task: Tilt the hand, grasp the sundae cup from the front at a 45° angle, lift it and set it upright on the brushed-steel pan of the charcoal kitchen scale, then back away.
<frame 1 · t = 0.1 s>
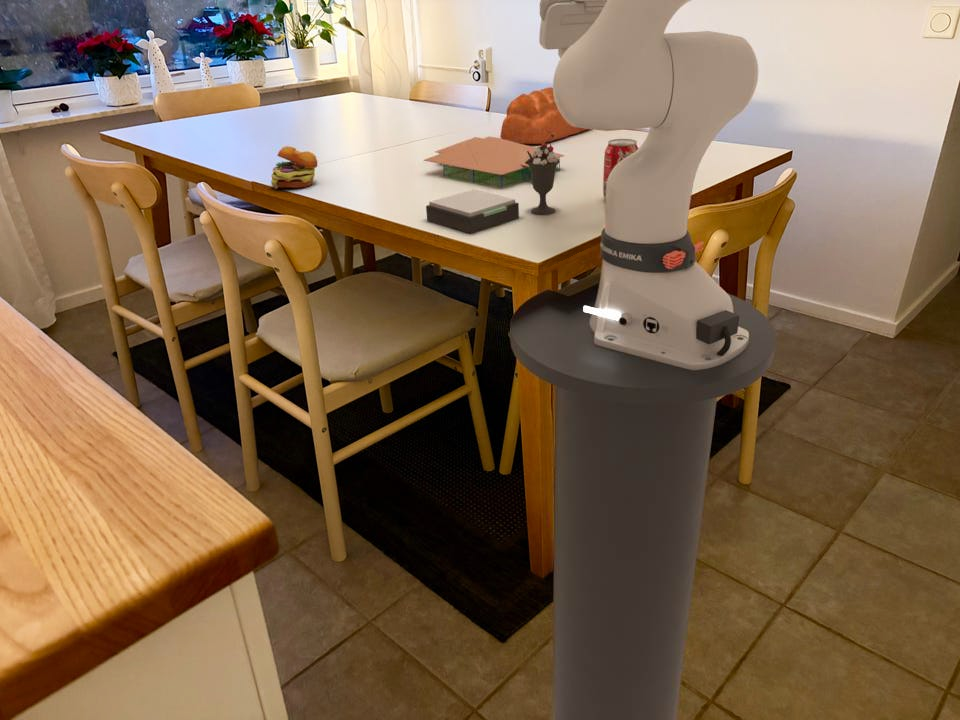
hand: (593, 72, 137), 26 cm above the table, tool pointing down, fingers open, 8 cm apart
soda can: (619, 200, 155), on the table
house: (491, 171, 182), on the table
scale: (472, 219, 147), on the table
sundae: (543, 211, 150), on the table
bread: (548, 135, 218), on the table
cheeseburger: (295, 185, 177), on the table
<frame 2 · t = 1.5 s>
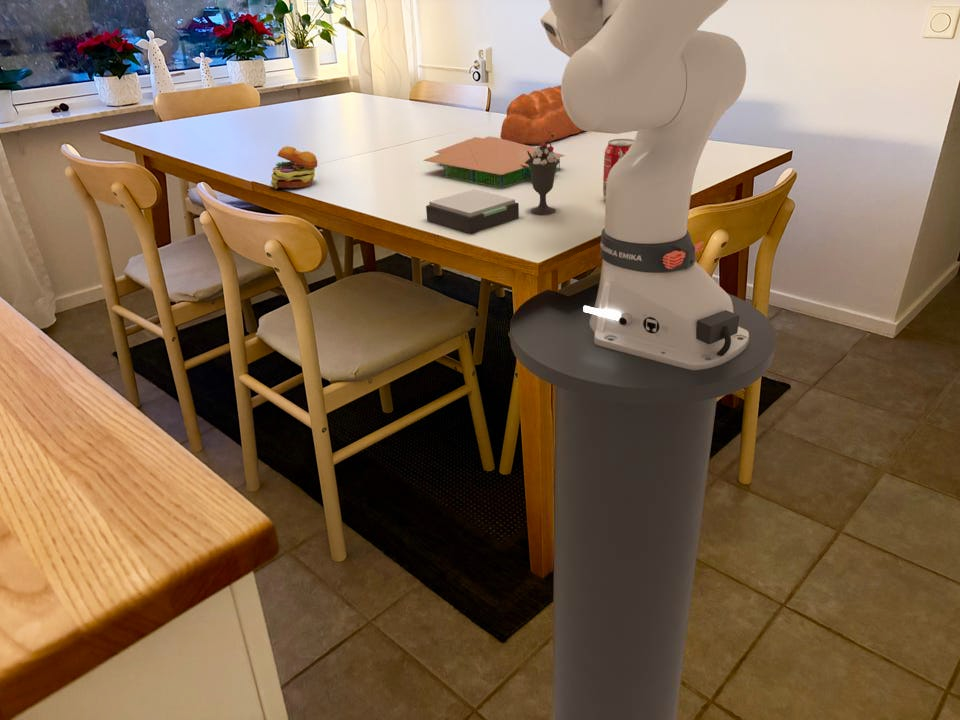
hand: (600, 80, 137), 25 cm above the table, tool tilted 45°, fingers open, 8 cm apart
nothing on the table moved.
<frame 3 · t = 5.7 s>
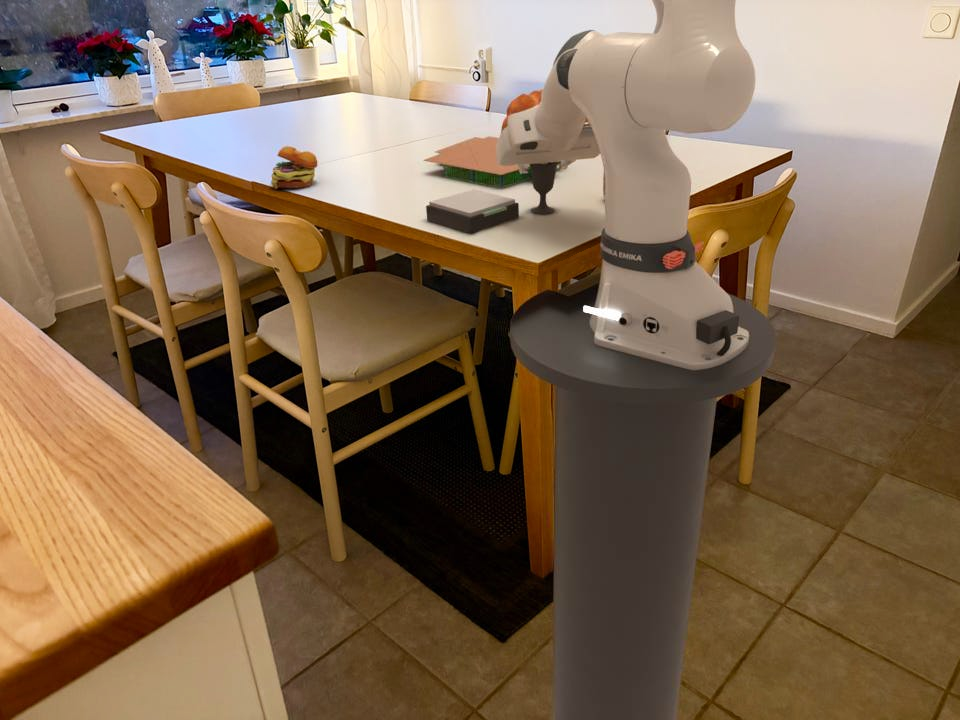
hand: (542, 168, 147), 8 cm above the table, tool tilted 45°, fingers closed on sundae, 7 cm apart
sundae: (542, 211, 150), on the table, touching gripper
everything else where it was.
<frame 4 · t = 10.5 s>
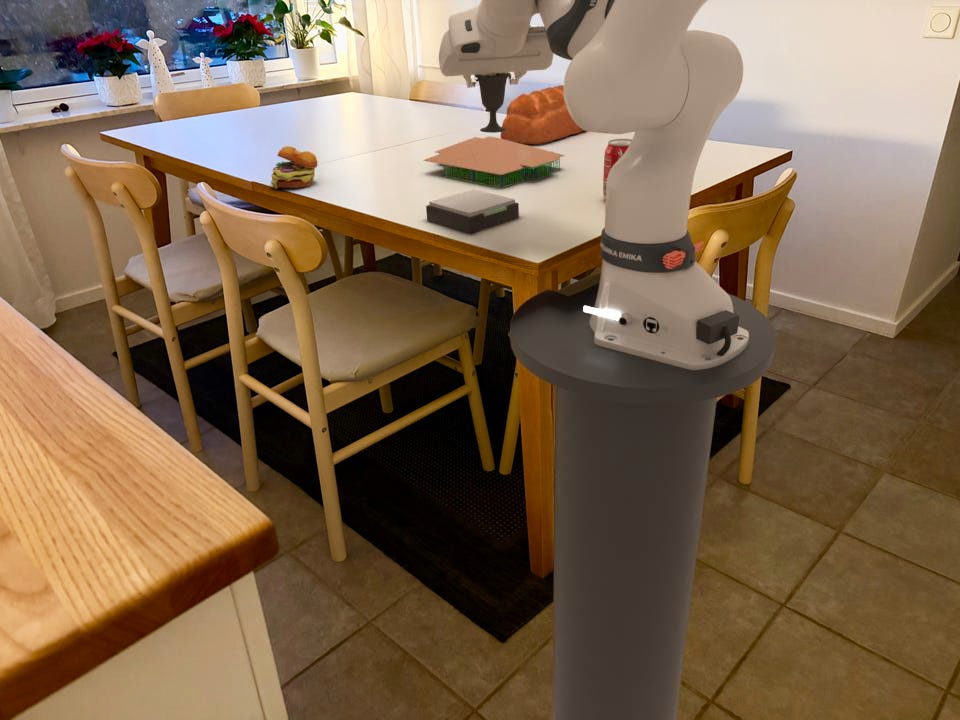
hand: (491, 83, 137), 25 cm above the table, tool tilted 45°, fingers closed on sundae, 7 cm apart
sundae: (493, 131, 140), point 17 cm above the table, touching gripper
everything else where it was.
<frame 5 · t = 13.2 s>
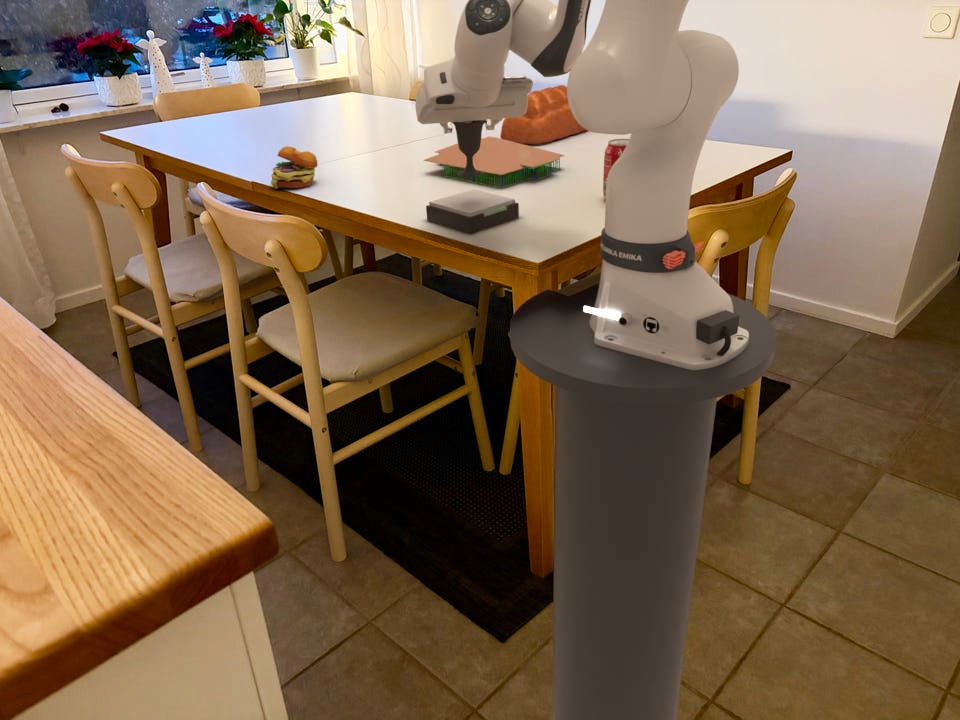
hand: (468, 128, 139), 17 cm above the table, tool tilted 45°, fingers closed on sundae, 7 cm apart
sundae: (470, 174, 143), point 9 cm above the table, touching gripper
everything else where it was.
when the fingers open (12 cm above the table, at t = 15.3 s): sundae stays where it is, resting on scale.
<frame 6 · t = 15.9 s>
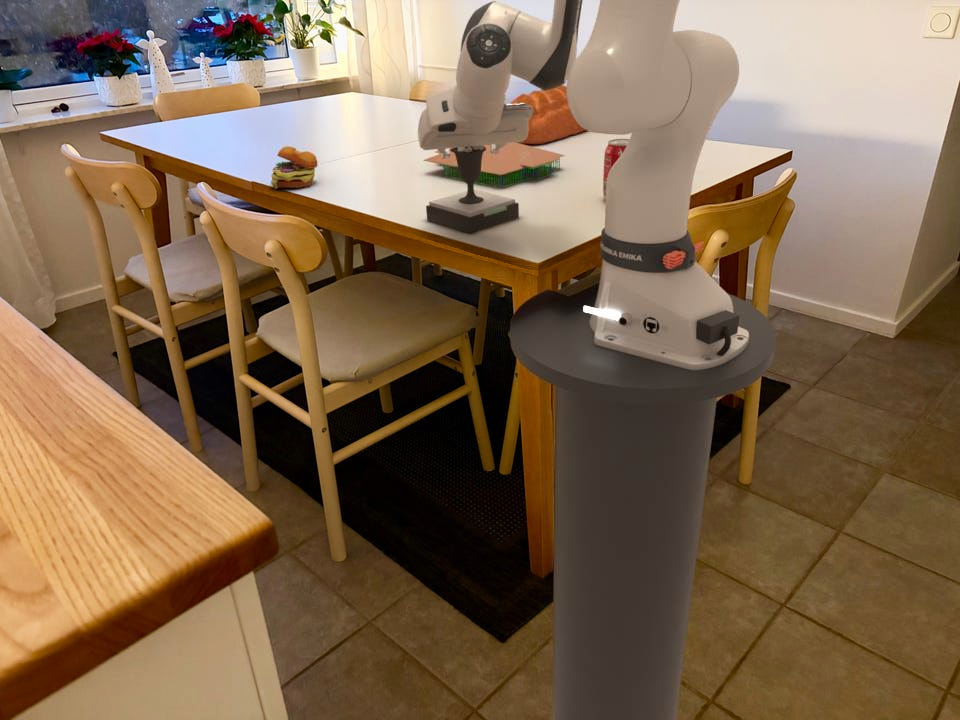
hand: (469, 153, 141), 13 cm above the table, tool tilted 45°, fingers open, 8 cm apart
sundae: (471, 201, 145), point 4 cm above the table, touching scale
everything else where it was.
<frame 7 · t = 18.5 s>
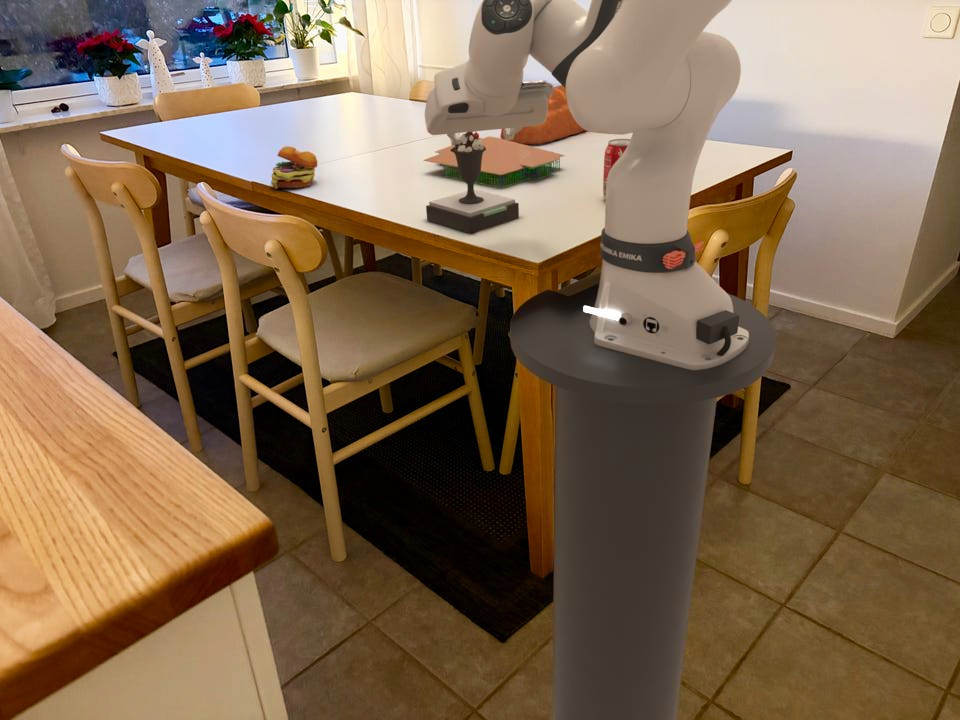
hand: (481, 139, 128), 18 cm above the table, tool tilted 45°, fingers open, 8 cm apart
nothing on the table moved.
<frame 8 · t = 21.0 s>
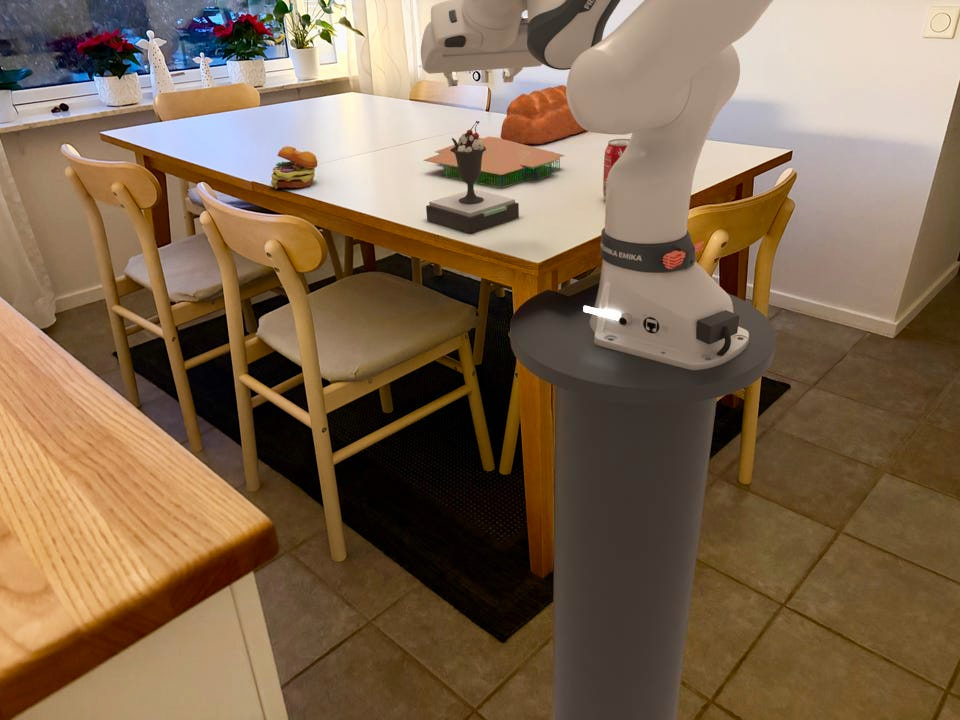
hand: (479, 81, 123), 27 cm above the table, tool tilted 45°, fingers open, 8 cm apart
nothing on the table moved.
at the end: sundae inside the target area on the scale (0.1 cm from its centre), point 3.6 cm above the scale's base; sundae tilted 0°; the gripper is holding nothing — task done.
